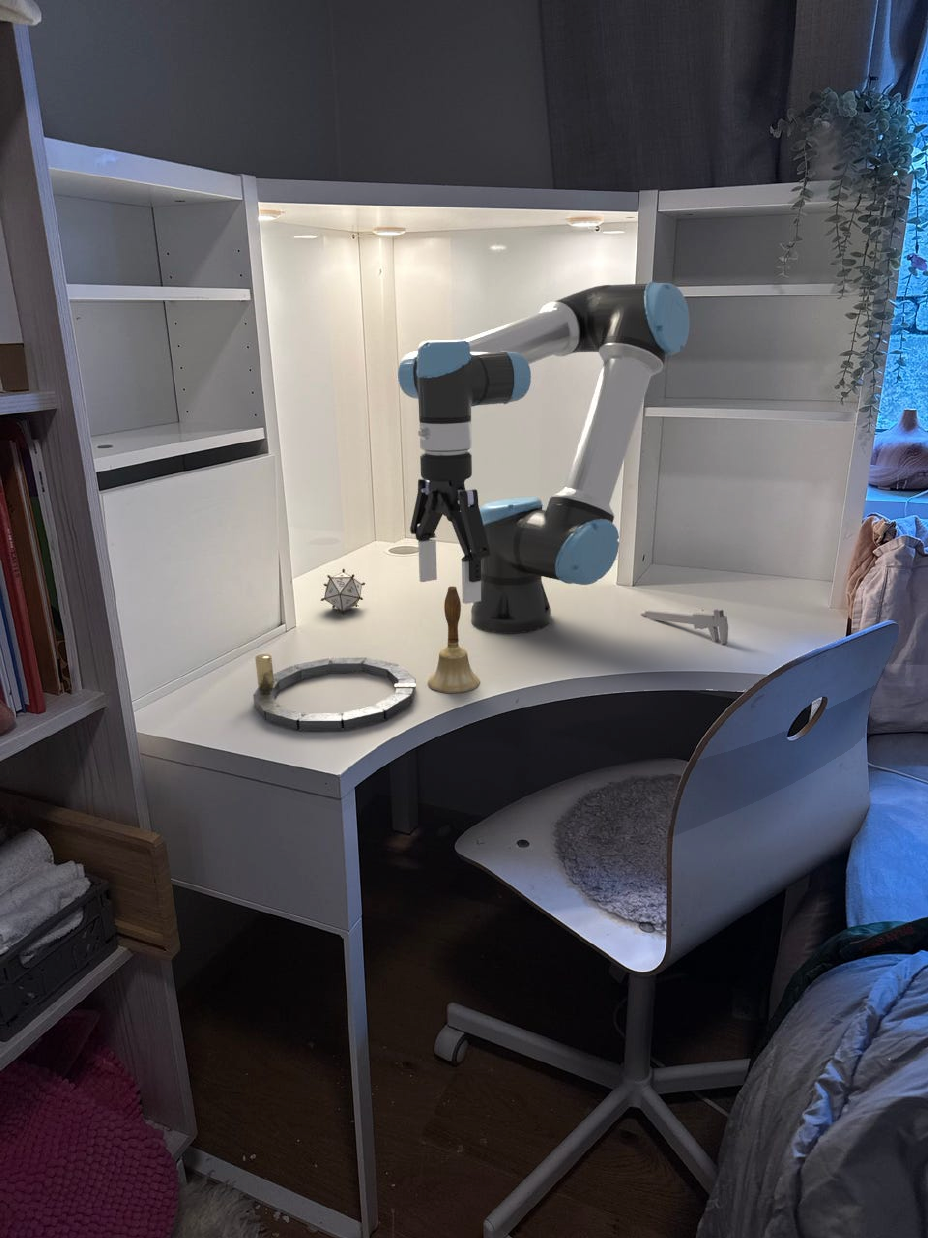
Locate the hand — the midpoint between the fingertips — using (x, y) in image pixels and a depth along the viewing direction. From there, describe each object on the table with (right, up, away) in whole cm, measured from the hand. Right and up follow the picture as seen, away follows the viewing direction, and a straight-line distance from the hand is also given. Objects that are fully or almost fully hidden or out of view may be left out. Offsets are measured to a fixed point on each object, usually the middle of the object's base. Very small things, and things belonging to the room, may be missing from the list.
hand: (449, 591), depth 136 cm
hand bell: (+1, -15, +5) cm, 16 cm away
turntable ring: (-17, -16, +1) cm, 24 cm away
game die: (-22, -3, +41) cm, 47 cm away
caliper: (+42, -7, +26) cm, 50 cm away
